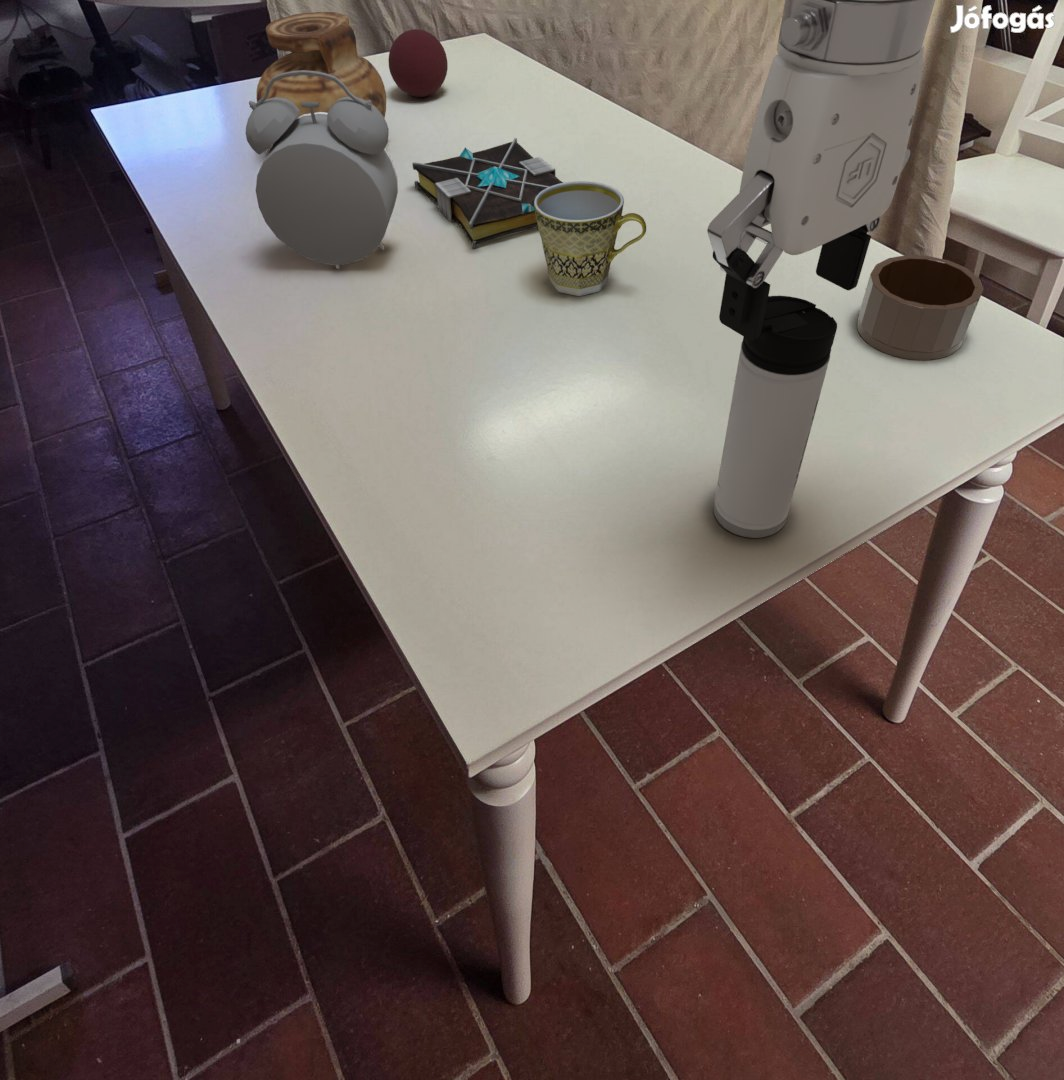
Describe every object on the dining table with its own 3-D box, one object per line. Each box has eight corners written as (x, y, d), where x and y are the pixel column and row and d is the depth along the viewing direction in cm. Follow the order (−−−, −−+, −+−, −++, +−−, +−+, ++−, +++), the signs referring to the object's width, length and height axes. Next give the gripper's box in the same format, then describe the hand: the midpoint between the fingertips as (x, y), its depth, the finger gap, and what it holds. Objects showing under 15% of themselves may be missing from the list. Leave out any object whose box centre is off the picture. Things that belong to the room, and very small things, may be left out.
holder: (983, 334, 88) (1004, 284, 84) (921, 372, 84) (940, 321, 80) (898, 294, 95) (913, 244, 90) (836, 328, 90) (849, 277, 86)
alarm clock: (413, 243, 107) (385, 55, 91) (400, 277, 101) (368, 83, 85) (290, 242, 109) (241, 57, 93) (271, 276, 103) (215, 84, 87)
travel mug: (695, 503, 73) (725, 300, 58) (758, 480, 74) (802, 277, 60) (736, 550, 69) (780, 345, 54) (801, 524, 70) (860, 319, 56)
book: (589, 219, 110) (589, 182, 106) (473, 251, 105) (469, 213, 102) (518, 161, 123) (516, 126, 120) (413, 187, 119) (407, 151, 115)
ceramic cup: (523, 294, 98) (519, 212, 90) (556, 255, 104) (555, 175, 96) (627, 315, 94) (631, 231, 86) (655, 273, 100) (661, 191, 92)
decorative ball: (454, 102, 141) (448, 36, 134) (396, 108, 140) (386, 42, 133) (446, 82, 148) (439, 18, 141) (390, 88, 147) (381, 24, 139)
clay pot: (229, 149, 123) (226, -9, 114) (314, 154, 138) (317, 15, 129) (329, 169, 116) (334, 3, 107) (407, 173, 131) (417, 27, 122)
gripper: (798, 79, 39) (740, 378, 51) (1010, 5, 46) (912, 285, 58) (686, 40, 43) (658, 325, 56) (895, -22, 50) (827, 245, 62)
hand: (788, 305), depth 57 cm, fingers open, 9 cm apart
